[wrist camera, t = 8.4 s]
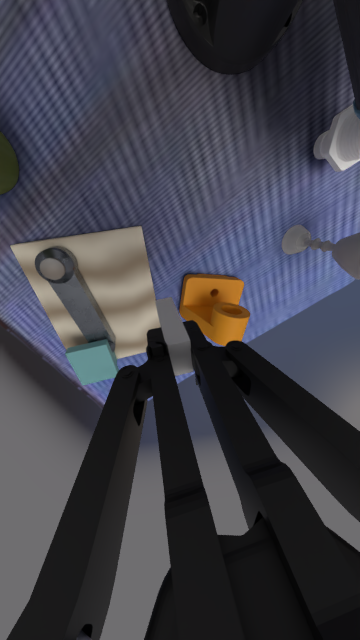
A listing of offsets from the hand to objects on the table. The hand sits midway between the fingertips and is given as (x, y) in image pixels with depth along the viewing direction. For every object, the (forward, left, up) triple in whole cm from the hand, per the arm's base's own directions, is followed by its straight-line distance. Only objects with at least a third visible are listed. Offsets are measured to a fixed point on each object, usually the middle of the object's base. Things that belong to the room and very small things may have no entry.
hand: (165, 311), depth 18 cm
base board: (+5, -8, -17) cm, 19 cm away
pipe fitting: (-13, +29, -17) cm, 36 cm away
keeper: (+12, -12, -15) cm, 23 cm away
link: (+4, -11, -15) cm, 19 cm away
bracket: (+7, +10, -17) cm, 21 cm away
